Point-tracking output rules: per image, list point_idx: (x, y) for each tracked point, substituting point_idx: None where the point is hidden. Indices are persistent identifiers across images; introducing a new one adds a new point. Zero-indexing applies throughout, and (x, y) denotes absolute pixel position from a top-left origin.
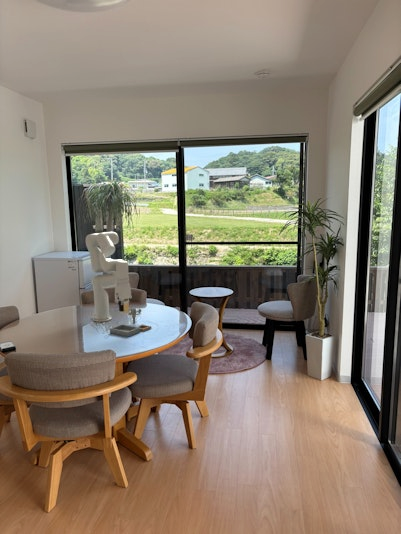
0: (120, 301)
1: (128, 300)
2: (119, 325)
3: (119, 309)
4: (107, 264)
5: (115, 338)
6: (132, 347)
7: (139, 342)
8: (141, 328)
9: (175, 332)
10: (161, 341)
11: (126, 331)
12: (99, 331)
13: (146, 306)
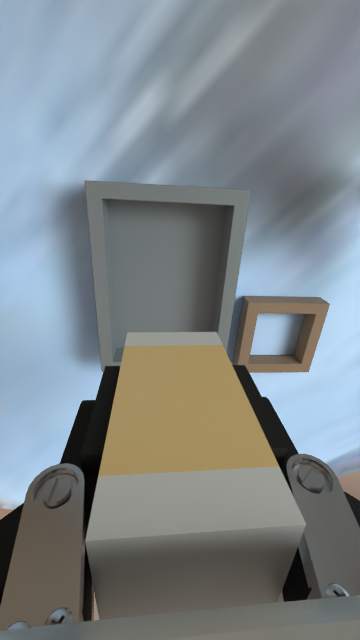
0: (92, 573)
1: (299, 594)
2: (205, 195)
3: (81, 405)
4: None
5: (40, 306)
6: (11, 459)
7: None
8: (247, 353)
9: None
10: None
11: (111, 354)
12: (70, 19)
13: None
